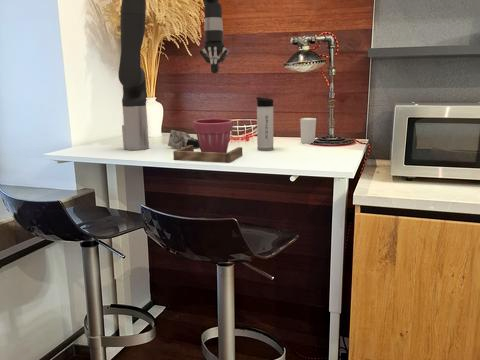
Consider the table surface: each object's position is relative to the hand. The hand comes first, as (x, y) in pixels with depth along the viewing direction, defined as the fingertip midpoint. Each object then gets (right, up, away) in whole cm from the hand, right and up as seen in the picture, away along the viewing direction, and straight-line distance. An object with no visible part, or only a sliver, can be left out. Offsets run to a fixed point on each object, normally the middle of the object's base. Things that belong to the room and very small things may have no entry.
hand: (215, 73), depth 189 cm
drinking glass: (+39, -29, +2) cm, 48 cm away
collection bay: (-1, -36, -26) cm, 44 cm away
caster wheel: (-11, -31, -4) cm, 34 cm away
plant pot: (+1, -35, -22) cm, 42 cm away
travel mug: (+20, -33, -12) cm, 40 cm away
